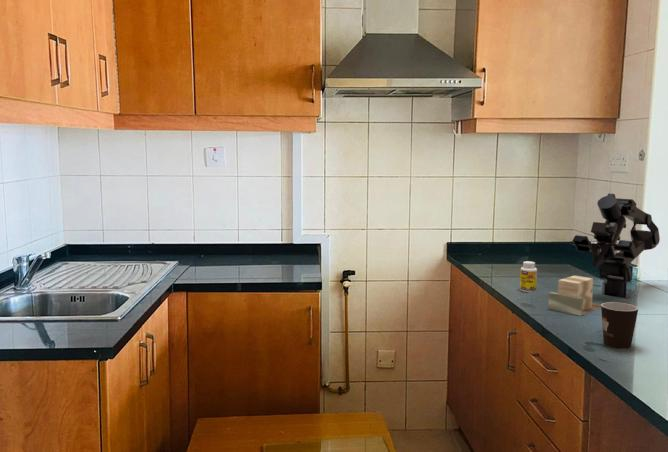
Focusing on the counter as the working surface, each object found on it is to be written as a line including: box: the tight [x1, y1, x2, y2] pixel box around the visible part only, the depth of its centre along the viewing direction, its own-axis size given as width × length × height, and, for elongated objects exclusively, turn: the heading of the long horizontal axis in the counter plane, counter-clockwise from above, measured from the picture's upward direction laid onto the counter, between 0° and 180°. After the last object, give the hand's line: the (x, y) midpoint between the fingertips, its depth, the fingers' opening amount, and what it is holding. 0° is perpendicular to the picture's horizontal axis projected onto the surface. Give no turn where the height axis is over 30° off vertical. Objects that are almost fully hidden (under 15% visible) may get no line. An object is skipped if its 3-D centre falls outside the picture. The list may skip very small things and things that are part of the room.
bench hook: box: [547, 291, 601, 317], centre depth 186 cm, size 16×10×6 cm, turn 132°
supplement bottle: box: [519, 260, 538, 293], centre depth 212 cm, size 6×6×10 cm
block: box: [557, 275, 594, 311], centre depth 184 cm, size 10×6×9 cm, turn 132°
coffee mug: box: [600, 301, 639, 350], centre depth 157 cm, size 12×9×10 cm
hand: (594, 267), depth 191 cm, fingers closed
